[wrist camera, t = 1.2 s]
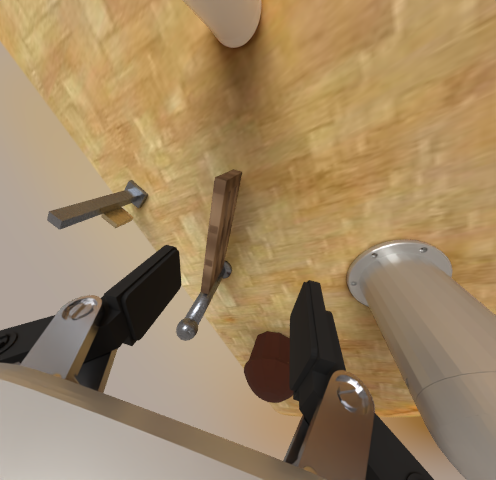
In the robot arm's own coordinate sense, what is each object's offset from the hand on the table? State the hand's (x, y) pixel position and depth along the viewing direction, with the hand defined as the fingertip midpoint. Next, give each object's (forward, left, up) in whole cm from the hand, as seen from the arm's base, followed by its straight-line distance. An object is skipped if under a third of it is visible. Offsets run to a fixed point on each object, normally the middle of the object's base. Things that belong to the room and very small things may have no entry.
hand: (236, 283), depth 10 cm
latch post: (+16, +16, -18) cm, 29 cm away
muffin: (-25, +23, -18) cm, 38 cm away
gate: (+2, +7, -16) cm, 18 cm away
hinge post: (-3, +16, -18) cm, 24 cm away
